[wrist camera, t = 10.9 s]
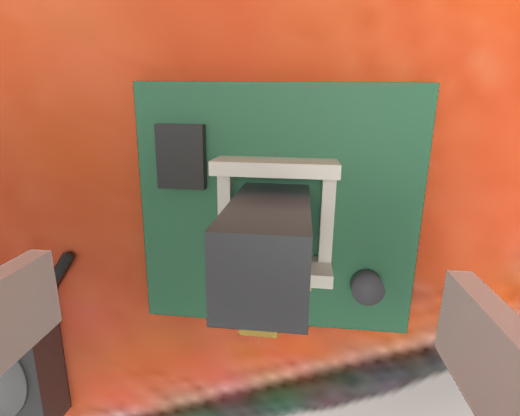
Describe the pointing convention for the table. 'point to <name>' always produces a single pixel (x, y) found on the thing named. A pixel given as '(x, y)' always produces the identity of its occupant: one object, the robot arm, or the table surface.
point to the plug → (260, 261)
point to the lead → (63, 265)
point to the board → (290, 172)
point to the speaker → (37, 381)
